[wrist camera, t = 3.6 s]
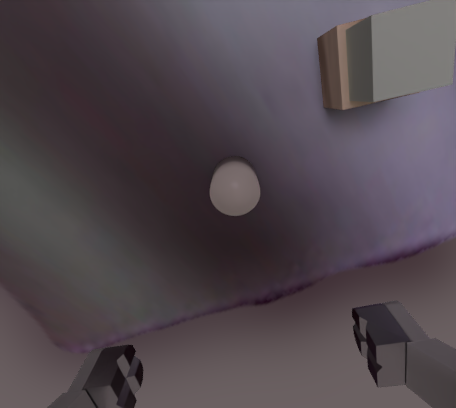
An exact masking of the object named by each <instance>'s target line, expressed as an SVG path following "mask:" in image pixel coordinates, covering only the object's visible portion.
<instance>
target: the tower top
mask: <svg viewBox="0 0 456 408" xmlns="http://www.w3.org/2000/svg"><path fill="white" fill-rule="evenodd" d="M455 43H456V0H430V1H426V2H422V3H418V4H414V5H410V6H406V7H402V8H398V9H394V10H391V11H387V12H383V13H379V14H375V15H371V16H369V17H368V18H366V19H364V20H362V21H360V22H359V23H357V24H355V25H353V26H352V27H350V28H348V29H346V47H347V65H348V83H349V101H361V102H377V101H381V100H385V99H390V98H394V97H399V96H403V95H408V94H412V93H416V92H421V91H425V90H430V89H434V88H439V87H443V86H447V85H452V84H453V71H454V57H455Z"/></svg>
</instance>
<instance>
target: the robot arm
mask: <svg viewBox="0 0 456 408" xmlns="http://www.w3.org/2000/svg"><path fill="white" fill-rule="evenodd" d="M352 317H353V319H354V321H355V325H354V326H353V331H354V337H355V340H356V343H357V346H358V349H359V351H360V353H361V355H362V356H363V357H365V358H366V359H367V362H368V369H369V371H370V373H371V375H372V377H373V379H374V380H375V383H376V385H377V387H388V386H397V385H406V386H407V387H408V388H409V389H410V390H412V391H413V392H414V393H415V394H417V395H418V396H419V397H420V398H421V399H423V400H424V401H425V402H426V403H428V404H429V405H430V406H431V407H432V408H456V349H455V348H453V347H451V346H449V345H447V344H445V343H443V342H441V341H440V340H438V339H436V338H434V339H430V338H429V337H428V335H427V334H426V333H425V332H424V331H423V329H422V328H421V327H420V326H419V324H418V323H417V322H416V321H415V320H414V318H413V317H412V316H411V315H410V313H408V311H407V310H406V309H405V307H404V306H403V305H402V304H401V303H400V302H399V301H391V302H385V303H382V304H381V303H380V304H374V305H368V306H362V307H356V308H352ZM135 352H136V350H135V348H134V347H133V345H122V346H115V347H107V348H102V349H94V350H92V351H91V352H90V353H89V354H88V356H87V358H86V359H85V361H84V363H83V365H82V366H81V368H80V370H79V372H78V374H77V376H76V377H75V379H74V381H73V383H72V385H71V386H70V388H69V390H68V392H67V393H63V394H62V395H61V396H59V397H58V398H57V399H56V400H55V401H54V402H53V403H52V404H51V405H49V406H48V407H47V408H134V407H135V404H136V398H135V393H136V392H137V391H138V390H139V389H140V387H141V384H142V380H143V366H142V363H141V361H140V359H138V358H137V357H135V356H134V355H135Z"/></svg>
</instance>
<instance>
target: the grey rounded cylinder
mask: <svg viewBox="0 0 456 408" xmlns="http://www.w3.org/2000/svg"><path fill="white" fill-rule="evenodd" d="M210 198H211V201H212V203H213V205H214V206H215V207H216V209H218V210H219V211H220V212H222V213H224V214H226V215H230V216H240V215H244V214H246V213H248V212H250V211H251V210H252V209H253V208H254V207H255V206H256V205H257V203H258V201H259V198H260V186H259V183H258V179H257V176H256V173H255V170H254V167H253V166H252V164H251V163H250V162H249V161H248V160H246V159H244V158H242V157H239V156H231V157H227V158H225V159H223V160H221V161H220V162H219V163H218V164H217V166H216V167H215V169H214V173H213V177H212V181H211V186H210Z"/></svg>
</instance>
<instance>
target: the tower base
mask: <svg viewBox="0 0 456 408" xmlns="http://www.w3.org/2000/svg"><path fill="white" fill-rule="evenodd" d="M365 19H366V18H365ZM362 20H364V19H361V20H357V21H353V22H349V23H345V24H342V25H338V26H336V27H334V28H333V29H331V30H329V31H328V32H326V33H325V34H323V35H322V36H320V37H319V38H317V41H318V52H319V62H320V73H321V83H322V94H323V104H324V108H331V109H338V110H346V109H350V108H354V107H359V106H363V105H367V104H372V103H376V102H361V101H349V83H348V65H347V47H346V29H348V28H350V27H352V26H353V25H355V24H357V23H359V22H360V21H362ZM416 93H419V92H416ZM412 94H415V93H412ZM408 95H410V94H408ZM403 96H406V95H403ZM399 97H402V96H399ZM394 98H397V97H394ZM390 99H393V98H390ZM385 100H389V99H385ZM381 101H384V100H381ZM377 102H380V101H377Z"/></svg>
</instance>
